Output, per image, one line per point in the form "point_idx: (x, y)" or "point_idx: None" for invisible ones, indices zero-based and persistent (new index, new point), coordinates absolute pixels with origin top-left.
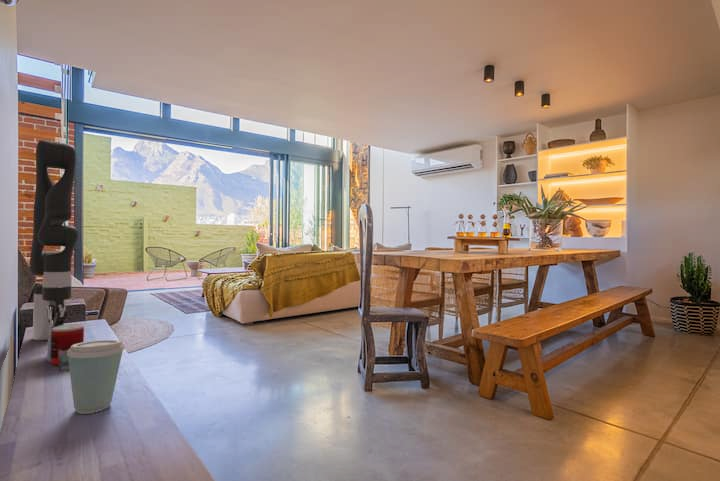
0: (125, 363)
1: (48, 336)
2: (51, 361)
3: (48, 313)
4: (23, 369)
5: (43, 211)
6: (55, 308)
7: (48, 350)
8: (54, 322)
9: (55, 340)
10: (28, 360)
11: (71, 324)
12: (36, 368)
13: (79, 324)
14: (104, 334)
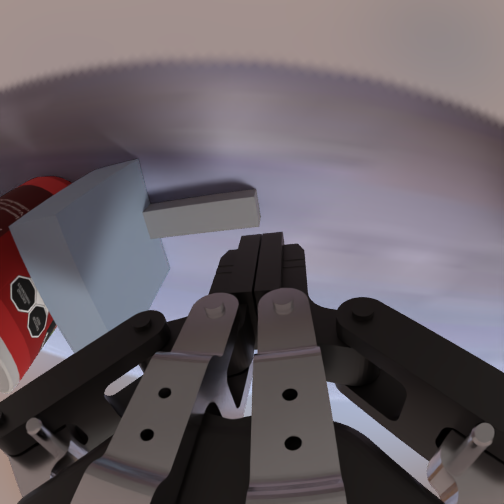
0: None
1: (45, 216)
2: (27, 181)
3: (326, 421)
4: (39, 79)
5: None
6: (36, 500)
7: (93, 180)
8: (121, 340)
9: None
10: (193, 74)
11: (3, 371)
12: (29, 125)
13: (5, 389)
14: None
